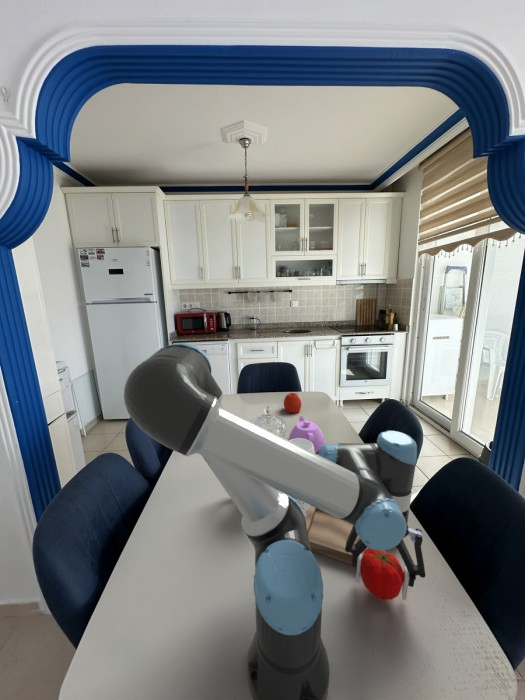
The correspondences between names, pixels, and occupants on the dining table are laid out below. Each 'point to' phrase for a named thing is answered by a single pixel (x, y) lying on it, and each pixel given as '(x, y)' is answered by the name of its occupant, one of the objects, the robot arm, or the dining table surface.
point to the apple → (292, 403)
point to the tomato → (381, 574)
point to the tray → (329, 535)
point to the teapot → (308, 433)
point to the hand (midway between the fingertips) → (380, 585)
